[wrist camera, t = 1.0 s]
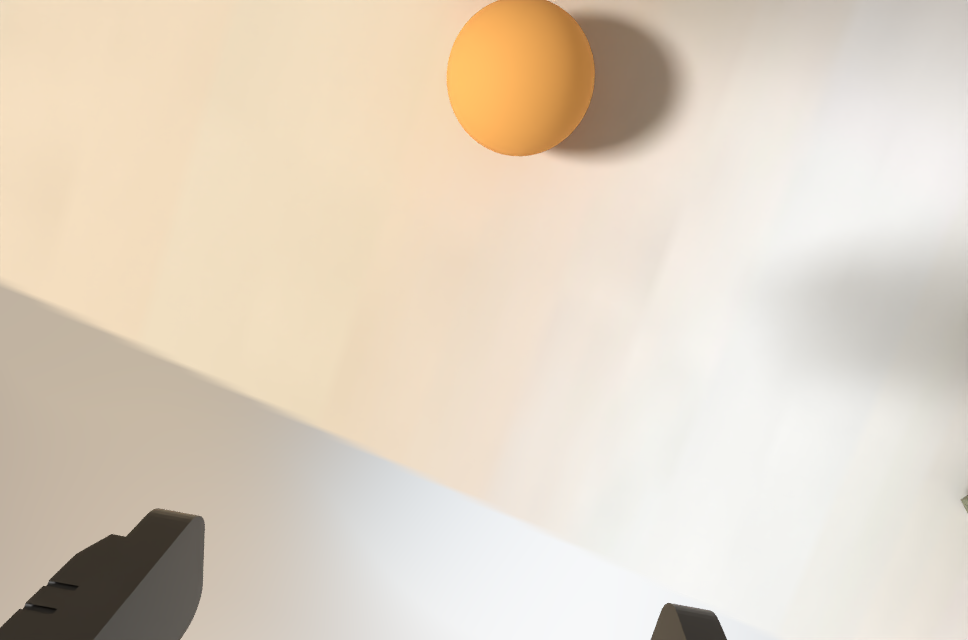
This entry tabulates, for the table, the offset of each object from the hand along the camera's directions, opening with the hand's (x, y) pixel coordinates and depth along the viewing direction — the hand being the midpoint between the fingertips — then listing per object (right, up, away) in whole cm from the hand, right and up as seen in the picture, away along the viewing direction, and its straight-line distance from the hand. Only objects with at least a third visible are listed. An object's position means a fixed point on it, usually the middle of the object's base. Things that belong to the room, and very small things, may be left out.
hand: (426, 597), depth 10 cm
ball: (+2, +14, +12) cm, 19 cm away
